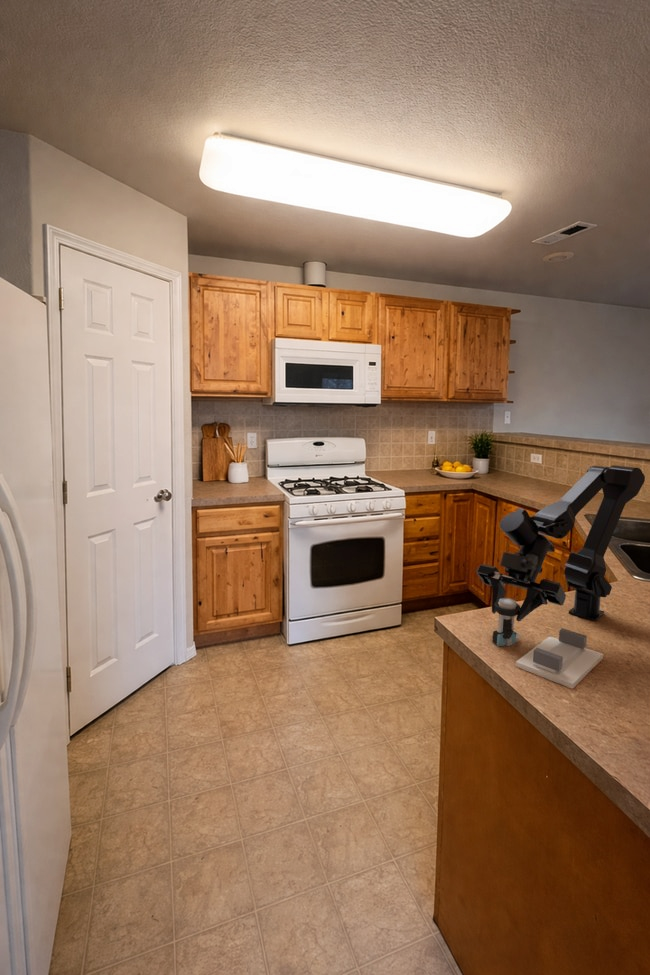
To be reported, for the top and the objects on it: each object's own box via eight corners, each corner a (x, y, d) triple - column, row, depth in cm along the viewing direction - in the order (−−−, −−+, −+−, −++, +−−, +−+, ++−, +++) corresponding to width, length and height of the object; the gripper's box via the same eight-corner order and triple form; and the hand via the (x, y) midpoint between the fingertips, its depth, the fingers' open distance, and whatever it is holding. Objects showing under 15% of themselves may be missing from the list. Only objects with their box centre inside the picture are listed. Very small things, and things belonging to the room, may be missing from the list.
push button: (511, 634, 110) (514, 594, 109) (527, 646, 105) (531, 603, 104) (486, 639, 108) (489, 597, 107) (502, 650, 103) (505, 607, 102)
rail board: (549, 640, 108) (550, 622, 107) (602, 658, 100) (604, 639, 99) (515, 666, 97) (516, 646, 97) (572, 688, 89) (574, 667, 89)
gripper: (481, 530, 113) (454, 587, 107) (563, 546, 99) (537, 612, 93) (496, 555, 119) (471, 610, 114) (576, 573, 105) (552, 636, 100)
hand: (505, 616), depth 105 cm, fingers closed on push button, 5 cm apart
